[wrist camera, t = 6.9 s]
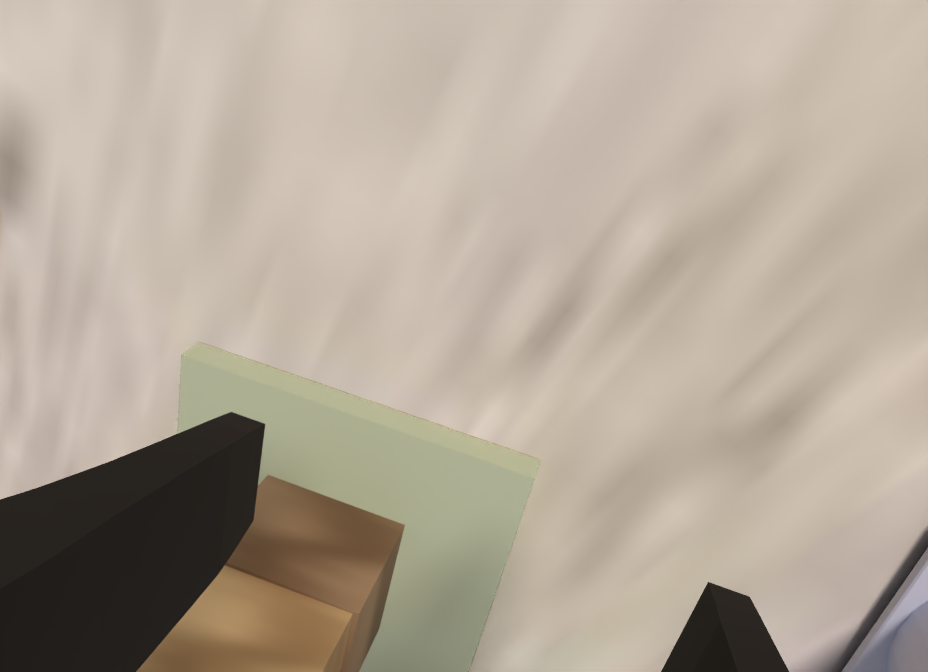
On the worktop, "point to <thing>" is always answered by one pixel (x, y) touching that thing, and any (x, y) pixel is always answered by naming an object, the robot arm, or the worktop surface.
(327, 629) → the oak block
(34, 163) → the worktop surface
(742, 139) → the worktop surface
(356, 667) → the walnut block
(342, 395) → the build board
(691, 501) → the worktop surface
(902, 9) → the worktop surface
